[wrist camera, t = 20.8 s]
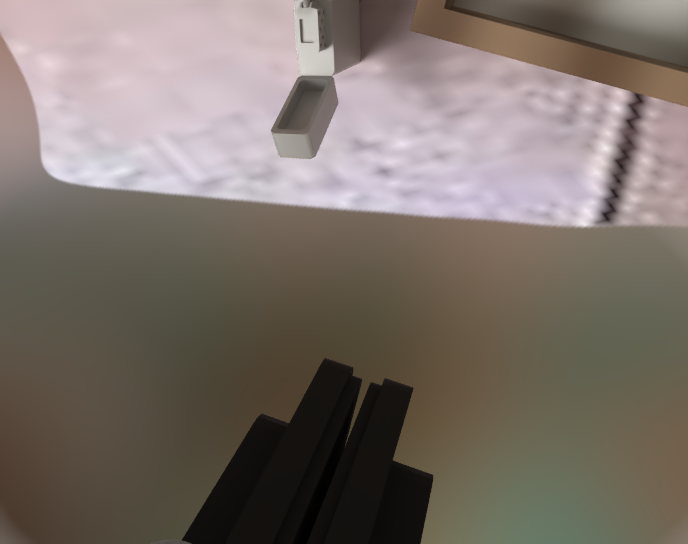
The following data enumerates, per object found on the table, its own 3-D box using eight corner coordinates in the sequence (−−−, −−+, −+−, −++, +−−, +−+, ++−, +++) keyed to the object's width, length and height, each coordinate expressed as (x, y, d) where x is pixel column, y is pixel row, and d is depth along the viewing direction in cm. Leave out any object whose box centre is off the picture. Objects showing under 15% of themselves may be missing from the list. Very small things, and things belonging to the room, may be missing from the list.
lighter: (325, -25, 29) (255, -24, 22) (359, -27, 29) (298, -26, 22) (331, 121, 32) (271, 160, 26) (362, 121, 32) (309, 163, 25)
